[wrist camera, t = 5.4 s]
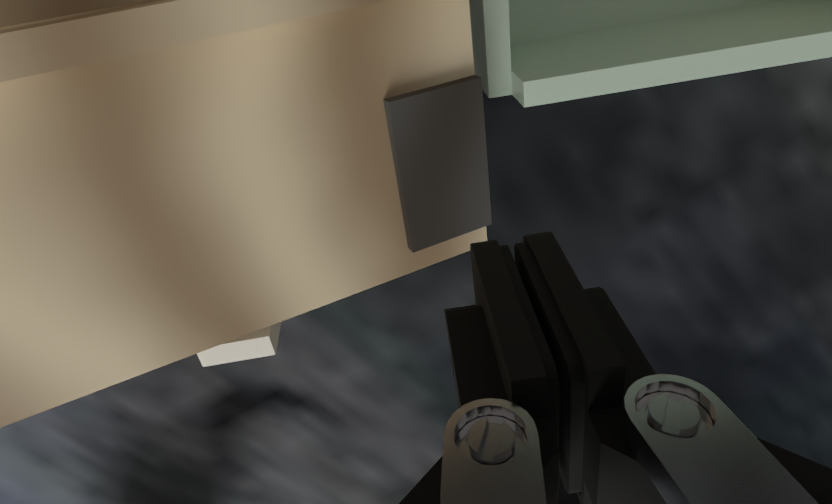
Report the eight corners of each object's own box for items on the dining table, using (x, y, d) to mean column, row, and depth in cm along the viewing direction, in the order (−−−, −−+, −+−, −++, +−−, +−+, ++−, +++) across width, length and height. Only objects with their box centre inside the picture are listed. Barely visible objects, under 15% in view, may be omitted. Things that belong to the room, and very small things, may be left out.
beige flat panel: (412, -396, 12) (477, -477, 10) (470, 229, 20) (512, 263, 18) (-910, -425, 7) (-1442, -618, 4) (-89, 434, 15) (-127, 517, 13)
